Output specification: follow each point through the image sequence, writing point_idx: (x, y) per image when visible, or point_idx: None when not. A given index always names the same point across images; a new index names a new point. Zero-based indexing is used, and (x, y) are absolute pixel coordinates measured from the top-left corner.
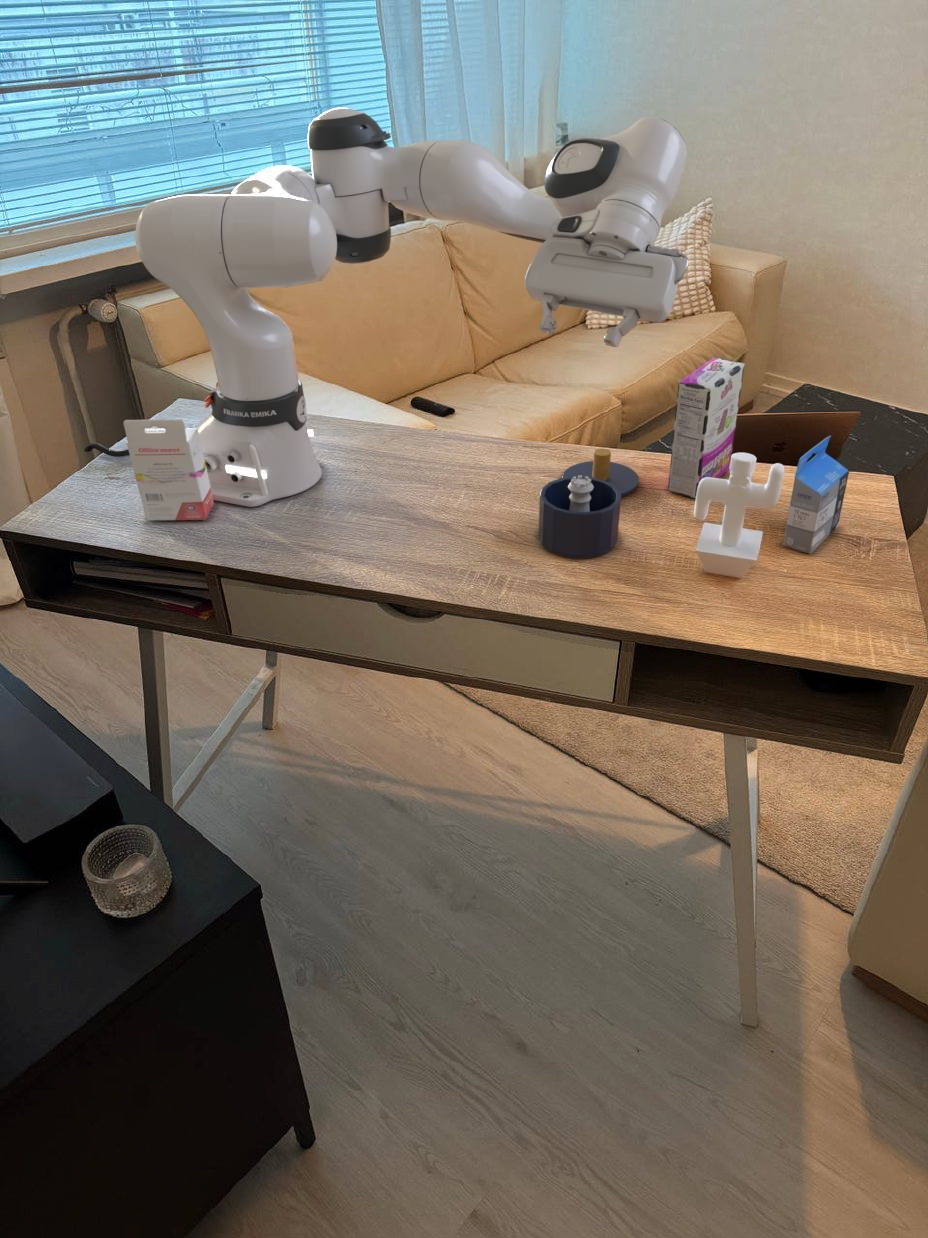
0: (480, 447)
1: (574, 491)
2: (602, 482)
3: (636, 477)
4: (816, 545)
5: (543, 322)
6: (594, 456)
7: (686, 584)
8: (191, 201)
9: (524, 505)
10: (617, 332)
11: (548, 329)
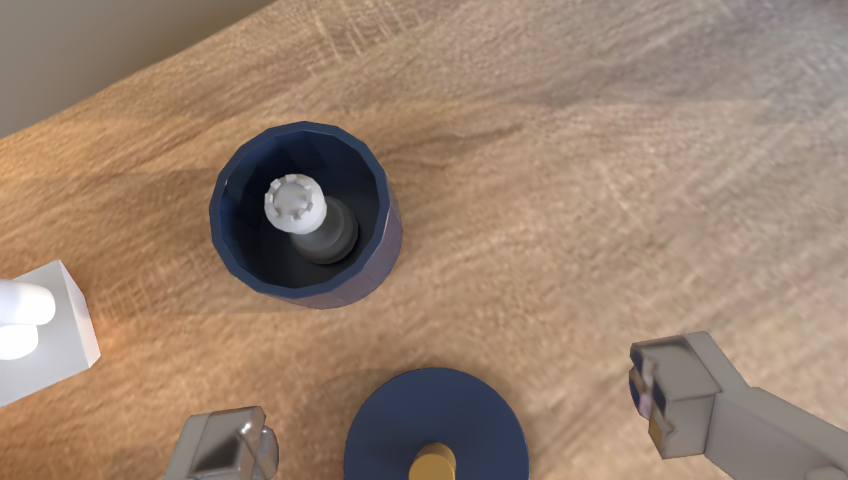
0: None
1: (291, 174)
2: (293, 288)
3: None
4: None
5: (701, 351)
6: (441, 454)
7: (95, 241)
8: None
9: (496, 263)
10: (170, 460)
11: (636, 343)
